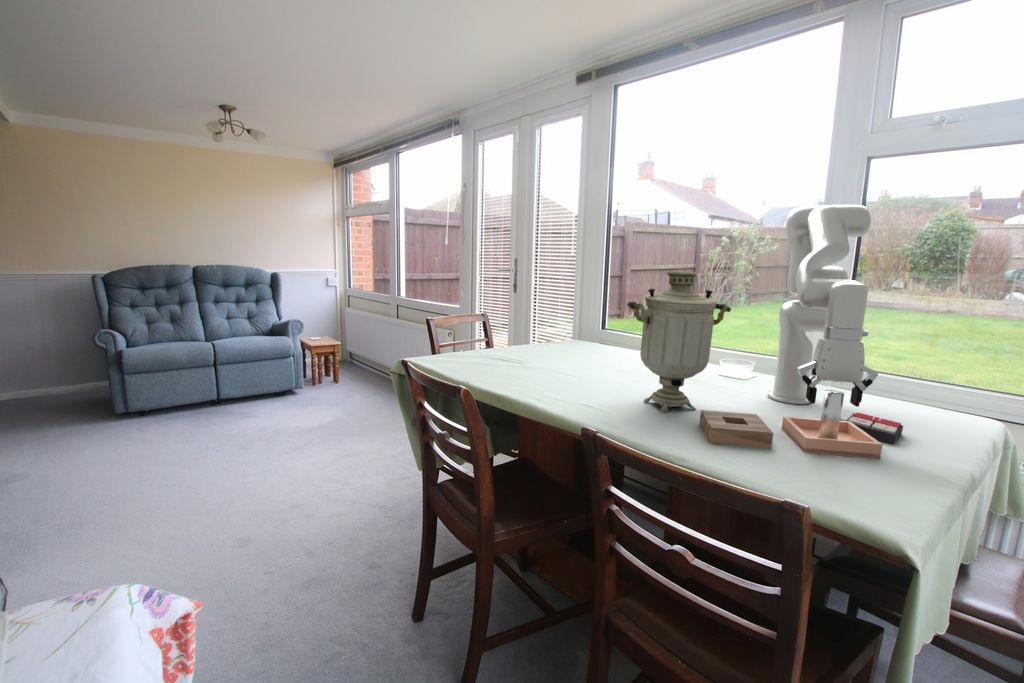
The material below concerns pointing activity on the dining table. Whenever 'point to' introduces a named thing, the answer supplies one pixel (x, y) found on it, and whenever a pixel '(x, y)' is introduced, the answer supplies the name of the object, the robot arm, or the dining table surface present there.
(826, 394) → the pin
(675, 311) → the samovar
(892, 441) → the calculator
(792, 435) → the tray
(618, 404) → the dining table surface
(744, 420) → the wooden square hole block
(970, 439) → the dining table surface
